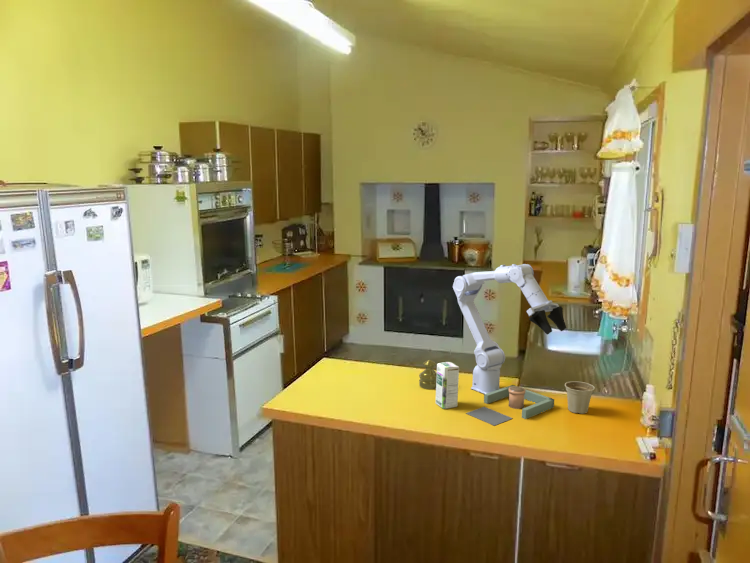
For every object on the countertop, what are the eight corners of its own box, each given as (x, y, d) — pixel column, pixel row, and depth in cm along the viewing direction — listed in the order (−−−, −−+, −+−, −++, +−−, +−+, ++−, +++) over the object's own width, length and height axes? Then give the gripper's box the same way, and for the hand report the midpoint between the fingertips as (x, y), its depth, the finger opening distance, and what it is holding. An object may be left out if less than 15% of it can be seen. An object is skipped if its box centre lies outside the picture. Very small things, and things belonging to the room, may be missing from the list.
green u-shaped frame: (483, 402, 196) (484, 394, 196) (512, 392, 206) (512, 384, 205) (525, 419, 183) (525, 410, 182) (553, 407, 192) (554, 399, 192)
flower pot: (569, 402, 196) (570, 379, 195) (596, 409, 191) (598, 385, 189) (558, 411, 189) (560, 386, 188) (587, 418, 183) (588, 393, 182)
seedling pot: (504, 405, 194) (505, 388, 193) (514, 401, 197) (515, 385, 196) (517, 410, 189) (518, 393, 188) (528, 406, 193) (529, 389, 192)
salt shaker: (429, 391, 206) (430, 364, 205) (415, 385, 212) (415, 360, 210) (443, 386, 211) (443, 360, 210) (428, 381, 217) (429, 356, 215)
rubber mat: (466, 413, 187) (466, 413, 187) (484, 407, 192) (484, 406, 192) (494, 425, 177) (494, 425, 177) (512, 418, 183) (512, 418, 183)
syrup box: (434, 403, 195) (435, 363, 192) (449, 400, 197) (450, 361, 195) (443, 409, 190) (444, 368, 187) (458, 406, 192) (459, 366, 190)
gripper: (529, 291, 179) (551, 327, 173) (556, 287, 188) (578, 321, 182) (515, 303, 184) (536, 339, 178) (542, 298, 193) (563, 332, 187)
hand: (556, 331), depth 181 cm, fingers open, 7 cm apart
